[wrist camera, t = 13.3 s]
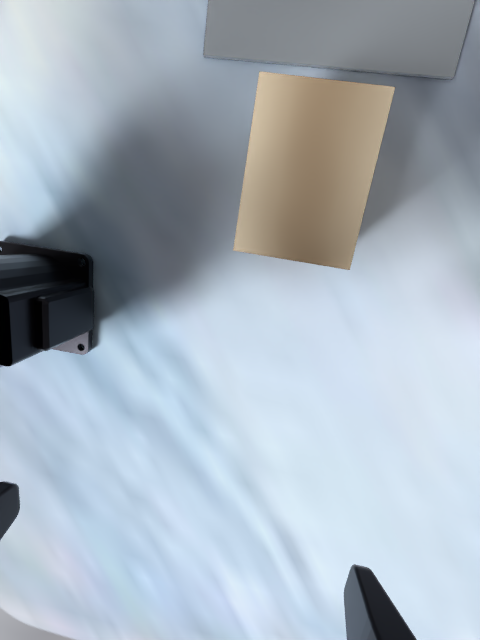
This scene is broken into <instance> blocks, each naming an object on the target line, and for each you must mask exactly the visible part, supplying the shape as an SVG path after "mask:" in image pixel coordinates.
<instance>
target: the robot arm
mask: <svg viewBox="0 0 480 640" xmlns="http://www.w3.org/2000/svg"><path fill="white" fill-rule="evenodd" d="M0 246H1V248H2V251H1V250H0V367H2V366H12V365H14V364H16V363H18V362H20V361H22V360H25V359H27V358H29V357H31V356H33V355H36V354H38V353H40V352H42V351H48V350H50V349H55V350H60V351H65V352H70V353H76V354H81V355H83V354H86V353H88V352H89V351H90V350H91V348H92V329H93V327H94V291H93V261H92V258H91V257H90V256H89V255H88V254H84V253H78V252H71V251H65V250H59V249H52V248H46V247H40V246H33V245H27V244H20V243H14V242H8V241H0ZM82 259H84V260H85V265H83V264H82V262H81V261H82ZM81 344H83V345H84V347H85V349H84V348H82V346H81ZM19 509H20V500H19V487H18V485H17V484H14V483H10V482H0V540H1V538H2V537H3V536H4V534H5V533H6V531H7V530H8V529H9V527H10V526H11V524H12V523H13V521H14V520H15V519H16V517H17V515H18V513H19ZM344 606H345V619H346V632H347V640H417V639H416V638H415V636H414V635H413V633H412V632H411V630H410V629H409V627H408V626H407V624H406V623H405V621H404V619H403V618H402V616H401V615H400V613H399V612H398V610H397V609H396V607H395V606H394V604H393V603H392V601H391V600H390V598H389V596H388V595H387V593H386V592H385V590H384V589H383V587H382V586H381V584H380V583H379V581H378V580H377V578H376V577H375V575H374V573H373V572H372V571H371V570H370V569H369V568H367V567H364V566H359V565H352V567H351V569H350V572H349V575H348V578H347V582H346V585H345V589H344Z"/></svg>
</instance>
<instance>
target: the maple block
mask: <svg viewBox="0 0 480 640" xmlns="http://www.w3.org/2000/svg"><path fill="white" fill-rule="evenodd" d="M394 90H395V87H391V86H382V85H374V84H365V83H356V82H347V81H339V80H330V79H321V78H312V77H304V76H295V75H286V74H277V73H269V72H260V71H259V78H258V85H257V91H256V98H255V105H254V112H253V119H252V125H251V132H250V139H249V146H248V153H247V159H246V166H245V173H244V180H243V187H242V193H241V200H240V207H239V214H238V221H237V227H236V234H235V241H234V248H233V250H234V251H240V252H246V253H252V254H258V255H264V256H270V257H275V258H281V259H287V260H293V261H299V262H305V263H311V264H317V265H323V266H329V267H335V268H341V269H347V270H350V266H351V262H352V258H353V254H354V250H355V246H356V242H357V238H358V234H359V230H360V226H361V222H362V218H363V214H364V210H365V206H366V202H367V198H368V194H369V190H370V186H371V182H372V178H373V174H374V170H375V166H376V162H377V158H378V154H379V150H380V146H381V142H382V138H383V134H384V130H385V126H386V122H387V118H388V114H389V110H390V106H391V102H392V98H393V94H394Z"/></svg>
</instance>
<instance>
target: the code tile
mask: <svg viewBox="0 0 480 640" xmlns="http://www.w3.org/2000/svg"><path fill="white" fill-rule="evenodd" d="M474 2H475V0H208V8H207V19H206V30H205V41H204V53H203V56H204V57H206V58H217V59H228V60H239V61H250V62H261V63H272V64H284V65H295V66H306V67H317V68H328V69H339V70H350V71H361V72H372V73H383V74H395V75H406V76H417V77H428V78H439V79H450V80H452V79H453V78H454V75H455V71H456V67H457V64H458V60H459V56H460V53H461V49H462V45H463V42H464V38H465V34H466V31H467V27H468V24H469V20H470V16H471V13H472V9H473V5H474Z"/></svg>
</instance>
